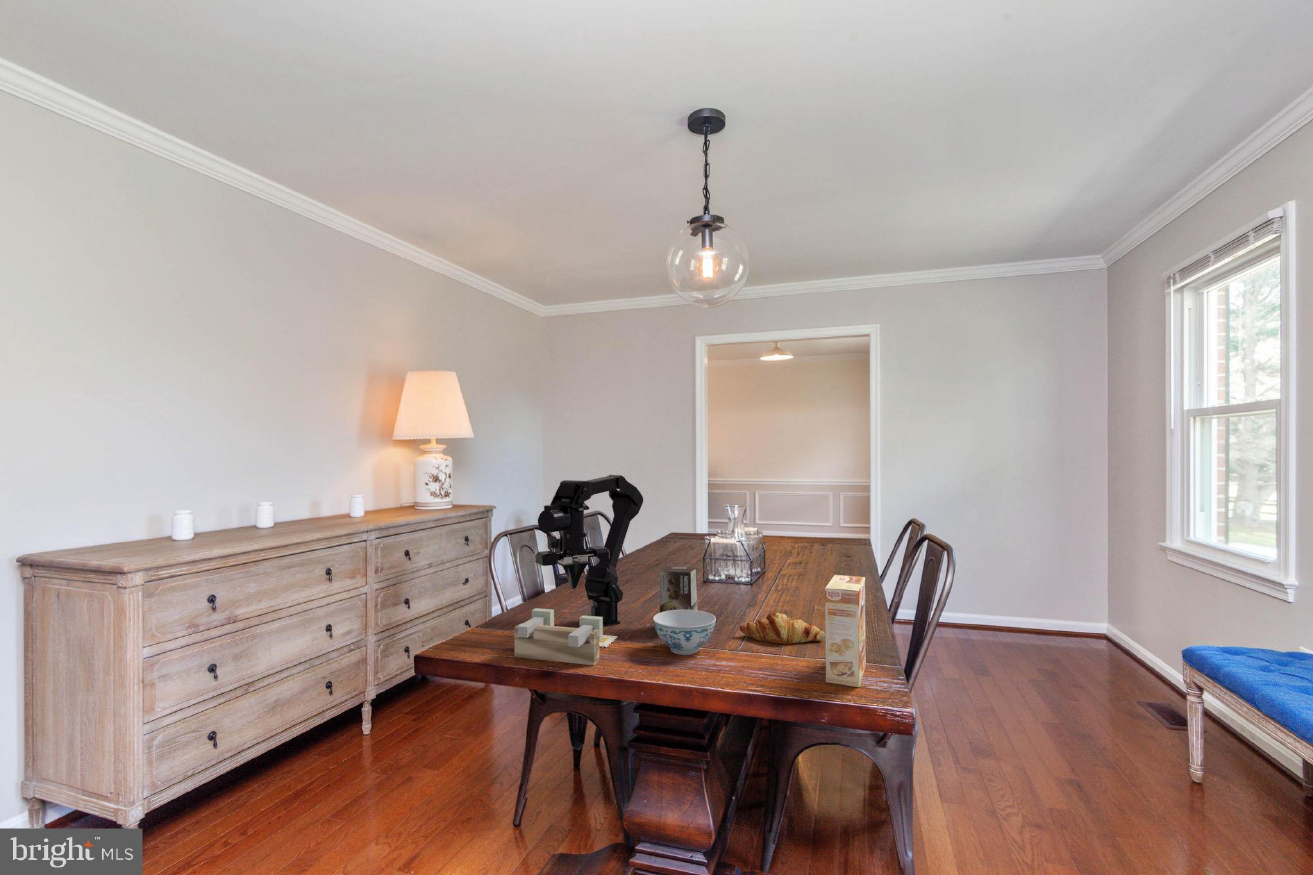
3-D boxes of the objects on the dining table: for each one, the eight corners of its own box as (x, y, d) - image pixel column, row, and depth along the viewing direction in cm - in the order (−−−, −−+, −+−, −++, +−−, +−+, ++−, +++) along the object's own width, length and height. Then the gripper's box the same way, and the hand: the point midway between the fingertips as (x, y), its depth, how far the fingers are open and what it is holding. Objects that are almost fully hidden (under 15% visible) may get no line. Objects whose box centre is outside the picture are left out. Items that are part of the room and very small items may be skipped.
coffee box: (698, 627, 168) (698, 567, 168) (692, 634, 162) (691, 571, 162) (666, 624, 171) (665, 565, 171) (658, 631, 164) (658, 569, 165)
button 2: (583, 636, 147) (582, 615, 147) (602, 638, 146) (602, 616, 146) (562, 651, 136) (562, 628, 137) (583, 653, 135) (583, 630, 135)
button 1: (535, 628, 154) (535, 608, 154) (554, 630, 152) (553, 609, 153) (512, 642, 143) (512, 620, 143) (532, 643, 142) (532, 621, 142)
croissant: (823, 651, 158) (822, 619, 162) (827, 644, 149) (826, 610, 153) (739, 645, 161) (740, 614, 165) (738, 638, 153) (739, 605, 157)
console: (521, 652, 148) (520, 623, 148) (599, 660, 142) (599, 629, 142) (514, 657, 145) (514, 626, 145) (594, 665, 139) (594, 633, 139)
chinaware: (676, 665, 139) (675, 630, 139) (641, 647, 151) (641, 615, 152) (729, 653, 147) (728, 620, 147) (692, 636, 159) (691, 606, 160)
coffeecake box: (860, 688, 125) (859, 590, 125) (824, 682, 128) (823, 587, 128) (867, 663, 139) (866, 576, 139) (834, 659, 142) (833, 573, 142)
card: (574, 634, 162) (574, 631, 162) (617, 637, 159) (617, 635, 159) (560, 643, 155) (560, 641, 155) (605, 647, 151) (605, 645, 151)
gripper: (592, 522, 173) (592, 579, 173) (528, 527, 164) (528, 587, 164) (610, 527, 164) (610, 586, 164) (543, 532, 154) (543, 595, 154)
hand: (573, 588), depth 162 cm, fingers closed
